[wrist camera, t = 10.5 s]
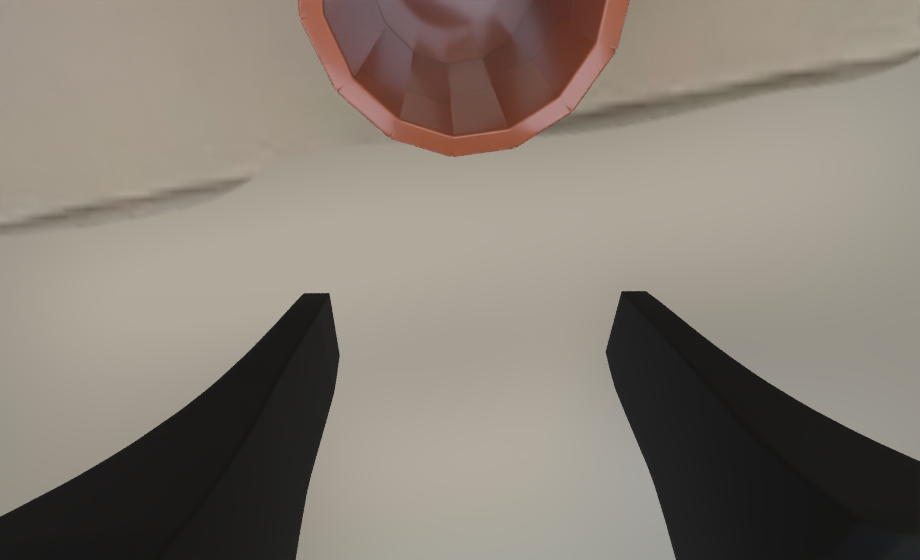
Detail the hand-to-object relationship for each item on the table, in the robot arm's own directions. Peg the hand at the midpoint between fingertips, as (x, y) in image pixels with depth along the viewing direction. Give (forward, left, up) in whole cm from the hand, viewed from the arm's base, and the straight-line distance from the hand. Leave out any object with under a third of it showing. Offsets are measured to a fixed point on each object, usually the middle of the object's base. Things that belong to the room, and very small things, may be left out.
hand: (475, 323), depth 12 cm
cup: (-4, +6, -6) cm, 10 cm away
